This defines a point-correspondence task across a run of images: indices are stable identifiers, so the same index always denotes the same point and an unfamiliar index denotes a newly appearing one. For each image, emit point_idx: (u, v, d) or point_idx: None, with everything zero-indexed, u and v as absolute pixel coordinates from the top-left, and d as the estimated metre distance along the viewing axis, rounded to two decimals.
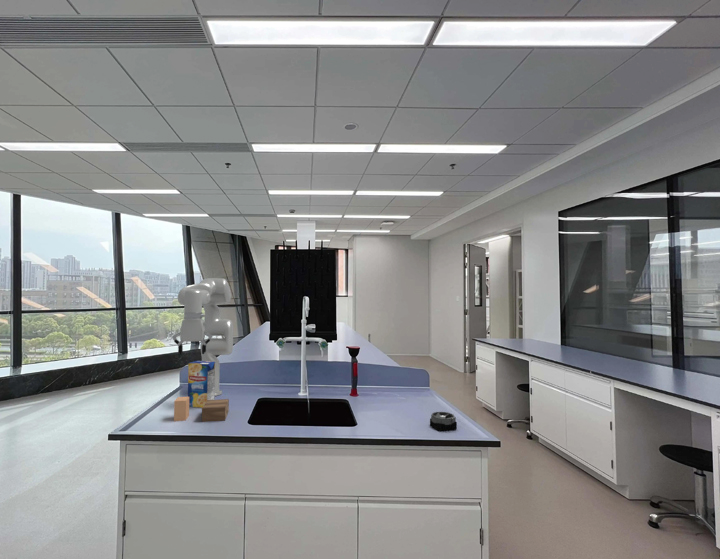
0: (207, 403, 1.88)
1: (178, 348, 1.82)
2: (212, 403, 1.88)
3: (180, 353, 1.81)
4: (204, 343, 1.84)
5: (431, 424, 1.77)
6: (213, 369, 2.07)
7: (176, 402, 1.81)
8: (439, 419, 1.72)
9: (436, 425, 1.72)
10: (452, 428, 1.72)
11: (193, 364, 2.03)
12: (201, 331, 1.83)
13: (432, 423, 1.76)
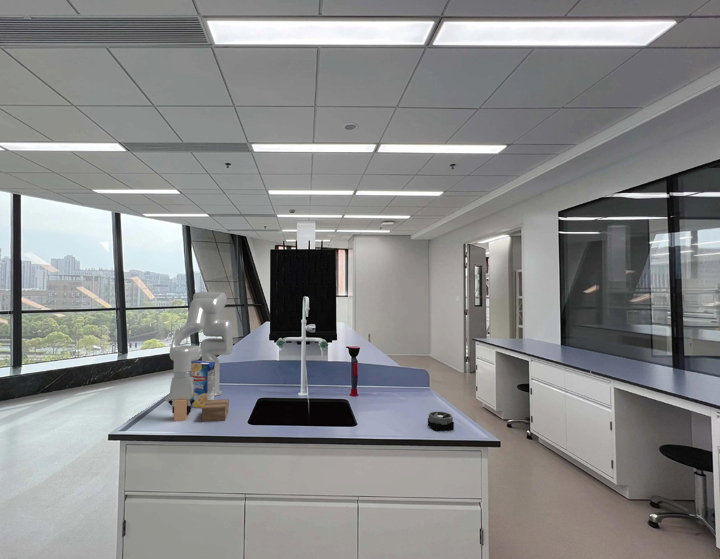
0: (207, 403, 1.88)
1: (172, 409, 1.83)
2: (212, 403, 1.88)
3: None
4: (189, 404, 1.84)
5: (429, 423, 1.77)
6: (214, 369, 2.07)
7: (176, 402, 1.81)
8: (435, 419, 1.72)
9: (432, 425, 1.73)
10: (449, 428, 1.72)
11: (193, 364, 2.03)
12: (190, 390, 1.84)
13: (429, 422, 1.76)
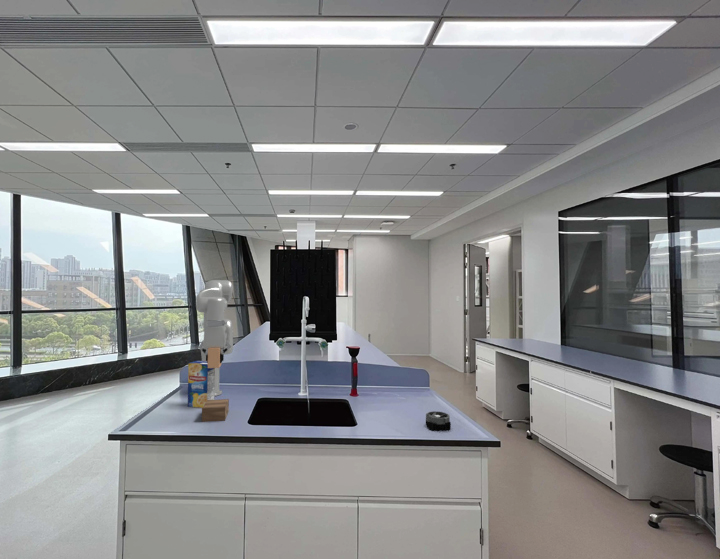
0: (207, 403, 1.88)
1: (206, 357, 1.87)
2: (212, 403, 1.88)
3: None
4: (222, 352, 1.88)
5: (426, 423, 1.78)
6: (213, 369, 2.07)
7: (210, 349, 1.85)
8: (432, 418, 1.73)
9: (429, 424, 1.73)
10: (445, 428, 1.72)
11: (193, 364, 2.03)
12: (223, 338, 1.87)
13: (427, 422, 1.77)
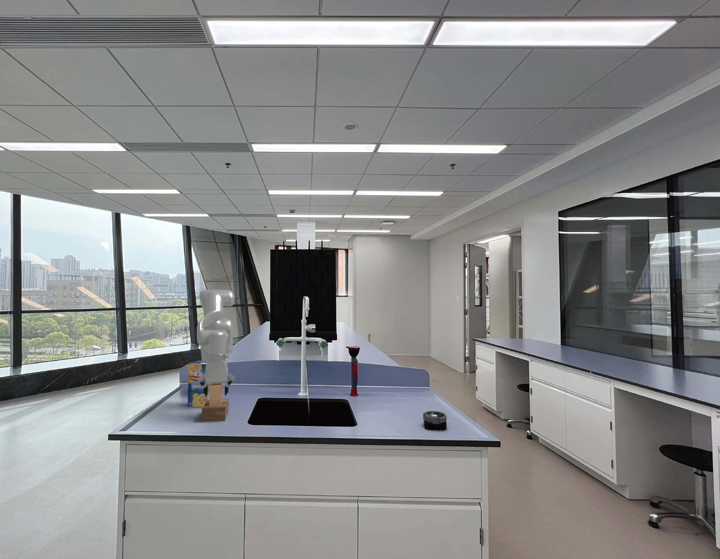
0: (207, 403, 1.88)
1: (204, 390, 1.86)
2: None
3: (206, 395, 1.86)
4: (227, 385, 1.88)
5: None
6: None
7: (211, 387, 1.85)
8: (427, 417, 1.74)
9: (425, 423, 1.75)
10: (441, 428, 1.72)
11: (193, 364, 2.03)
12: (225, 372, 1.87)
13: (424, 421, 1.78)
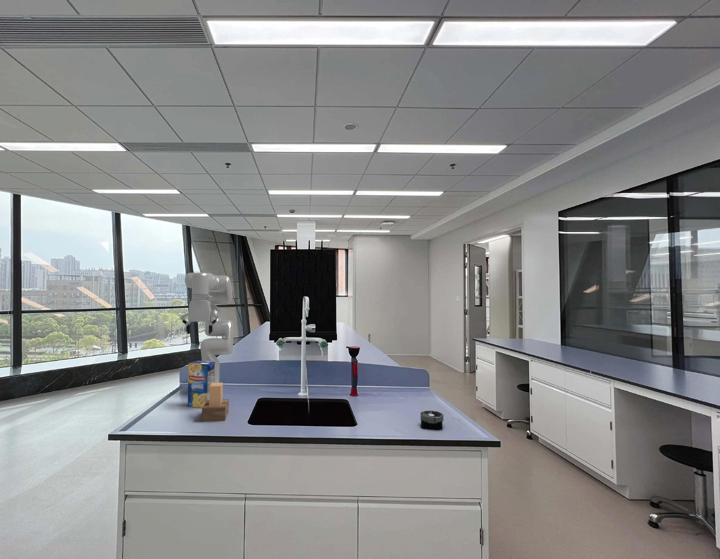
0: (207, 403, 1.88)
1: (186, 328, 1.91)
2: None
3: (188, 333, 1.90)
4: (211, 323, 1.93)
5: None
6: (213, 369, 2.07)
7: (211, 387, 1.85)
8: (423, 416, 1.75)
9: (421, 422, 1.76)
10: (436, 427, 1.73)
11: (193, 364, 2.03)
12: (208, 312, 1.92)
13: None
